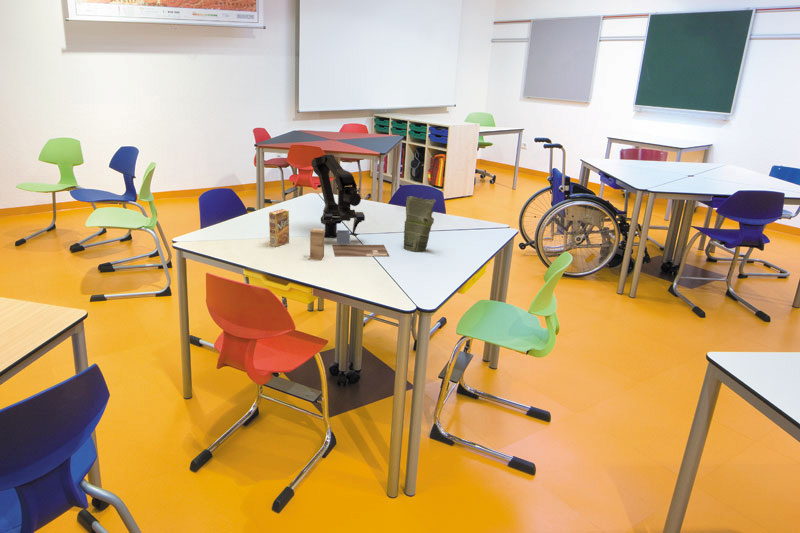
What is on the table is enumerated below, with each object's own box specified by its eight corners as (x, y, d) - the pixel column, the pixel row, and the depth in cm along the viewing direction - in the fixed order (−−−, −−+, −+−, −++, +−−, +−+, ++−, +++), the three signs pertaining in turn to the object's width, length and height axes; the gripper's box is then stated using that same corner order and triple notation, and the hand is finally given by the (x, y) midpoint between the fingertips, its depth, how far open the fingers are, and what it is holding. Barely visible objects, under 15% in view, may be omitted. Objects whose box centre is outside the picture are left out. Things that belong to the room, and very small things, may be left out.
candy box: (276, 247, 250) (276, 213, 245) (269, 245, 252) (268, 212, 247) (289, 242, 257) (289, 210, 252) (282, 241, 259) (282, 208, 254)
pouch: (400, 246, 262) (403, 194, 253) (423, 245, 266) (427, 193, 258) (409, 254, 252) (412, 199, 244) (433, 252, 256) (437, 199, 248)
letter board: (332, 245, 257) (332, 244, 256) (383, 246, 261) (383, 244, 261) (334, 257, 241) (334, 256, 241) (389, 257, 246) (389, 256, 245)
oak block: (312, 255, 242) (312, 228, 238) (324, 256, 242) (324, 229, 238) (310, 259, 238) (310, 231, 234) (321, 259, 238) (322, 232, 234)
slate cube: (336, 241, 264) (337, 230, 262) (348, 241, 265) (348, 230, 263) (337, 245, 259) (337, 233, 257) (349, 245, 260) (349, 233, 258)
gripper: (324, 204, 246) (324, 239, 251) (366, 205, 250) (365, 239, 255) (323, 199, 256) (322, 231, 262) (363, 199, 260) (362, 232, 265)
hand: (343, 234), depth 261 cm, fingers open, 9 cm apart
